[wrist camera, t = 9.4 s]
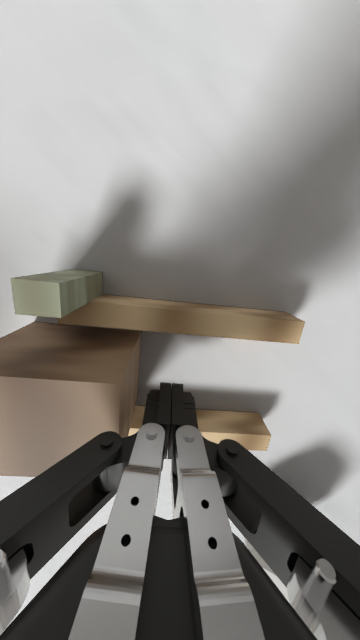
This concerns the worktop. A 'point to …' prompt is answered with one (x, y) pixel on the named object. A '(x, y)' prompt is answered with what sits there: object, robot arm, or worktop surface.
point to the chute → (158, 316)
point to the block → (63, 391)
